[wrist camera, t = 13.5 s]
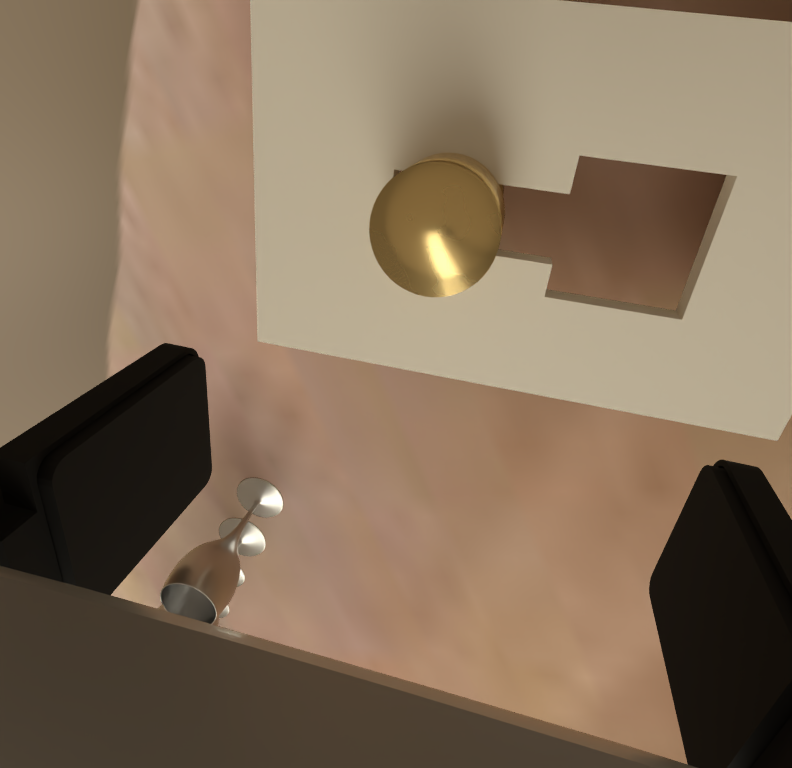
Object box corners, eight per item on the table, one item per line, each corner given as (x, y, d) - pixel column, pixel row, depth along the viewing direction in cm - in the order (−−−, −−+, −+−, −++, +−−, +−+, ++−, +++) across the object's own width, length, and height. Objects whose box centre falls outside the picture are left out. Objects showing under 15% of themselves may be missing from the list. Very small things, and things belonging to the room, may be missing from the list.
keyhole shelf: (841, 58, 27) (992, 41, 18) (714, 353, 34) (777, 440, 26) (329, 6, 30) (249, -29, 21) (319, 285, 38) (257, 341, 29)
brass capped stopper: (518, 147, 28) (513, 173, 19) (499, 244, 31) (487, 307, 22) (423, 135, 29) (374, 153, 20) (412, 230, 31) (364, 286, 22)
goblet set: (238, 464, 47) (145, 582, 36) (298, 494, 47) (224, 622, 36) (170, 634, 61) (87, 759, 50) (216, 658, 61) (144, 787, 50)
